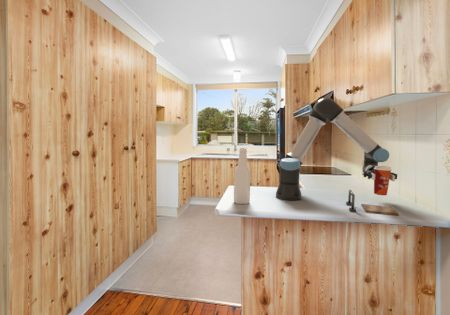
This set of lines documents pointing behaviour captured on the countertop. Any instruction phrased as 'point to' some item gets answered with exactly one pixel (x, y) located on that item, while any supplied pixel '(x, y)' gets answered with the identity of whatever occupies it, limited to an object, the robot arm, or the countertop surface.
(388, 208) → the walnut board
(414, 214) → the countertop surface
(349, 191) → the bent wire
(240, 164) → the alcohol
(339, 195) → the countertop surface
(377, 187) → the paper cup
